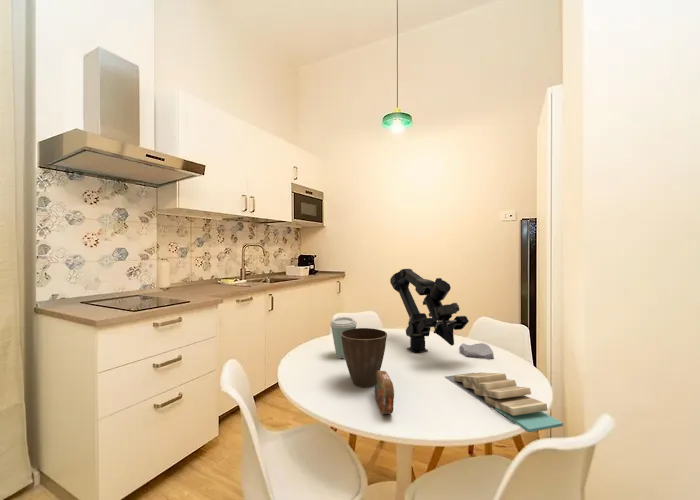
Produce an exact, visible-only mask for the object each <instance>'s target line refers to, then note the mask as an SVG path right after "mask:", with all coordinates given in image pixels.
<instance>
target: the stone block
mask: <svg viewBox="0 0 700 500" xmlns="http://www.w3.org/2000/svg"><path fill="white" fill-rule="evenodd" d="M458 350H459V353H460V354H462V355H463V356H464V357H468V358H469V357H470V358H479V359H486V360H492V359H494V357H495V356H494V355H495V354H494V351H493V349H492V348H491V346H490V345H489V344H486V343H484V342H483V343H481V342H480V343H474V344H466V343H461V344H460V345H459V349H458Z"/></svg>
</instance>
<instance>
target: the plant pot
mask: <svg viewBox="0 0 700 500" xmlns="http://www.w3.org/2000/svg"><path fill="white" fill-rule="evenodd" d="M387 337H388V334H387V332H386V331H385V330H383V329H378V328H371V327H370V328H369V327H358V328H357V327H356V328H355V329H348V330H345V331H343V332H341V339H342V346H343V351H344V356H345V359H344V360H345V363H346V366H347V370H348V373H349V376H350V378H351V381H352V384H353V385H354V386H356V387H358V388H370V387H373V386H375V374H376V371H377V370H378V371H381V368H382V365H383V360H384V357H385V352H386V346H387V345H386V344H387Z"/></svg>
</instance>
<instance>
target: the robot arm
mask: <svg viewBox="0 0 700 500" xmlns="http://www.w3.org/2000/svg"><path fill="white" fill-rule="evenodd" d="M389 283H390V284H391V287H392V288H393V290H394V291H396V292H397V293H398V294H399V296H400V299H401V301H402V304H403V305H404V308H405V310H406V312H407V315H408V317H409V319H408V323H407V325H408V326H407V327H406V329H405V335H406V336H407V337H409V343H410V344H409V345H410V346H408V347H407V348H406V349H407V350H409V351H411V352H413V353H415V354H419V353H425V352H429V349H427V348H426V337H429V336H430V332H431V328H433V333H434V334H436V335H437V336H439V337H441V339H442V340H444V341H445V342H446V343H448V344H449V345H450V346H454V345H455V339H454V337H455V336H454V331H459V330H462V329H464V328H465V327H466V325H467V324H468V323H469V322H470V321H469V319H468V317H467V316H466V315H457V316H455V318H453V319H452V317H453V315H454V314H457V313H458V312H459V311H460V306H459V304H458V303H457V302H452V303H450V304H443V303H442V301H443V300H445V298H446V297H447V295H448V294H449V292H450V291H451V290H452V289H451V285H450V283H448V282H447V281H445V280H443V279H442V277H441V278H440V277H437V278H436V279H435V281H434V280H431V279H427V278H426V279H425V278H423V277H422V276H420V275H419V274H418V273H416V272H415V271H413V269H412V268H402V269H400V270H399V271H398V272H396V273H393V274H392V276H391V277H390V279H389ZM410 284H411V285H412V286H414V287H415V289H414V290H415V292H416V293H417V294H418V295H419V296H425V297H424V298H423V301H422V306H424V305H425V306H426V308H427V310H428V312H429V313H428V315H427V314H426V313H425V312H424V313H421V312H420V310H419V308H418V306H417V303H416V301H415V299H414V297H413V295H412V292H411V291H410V288H409V286H410Z"/></svg>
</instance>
